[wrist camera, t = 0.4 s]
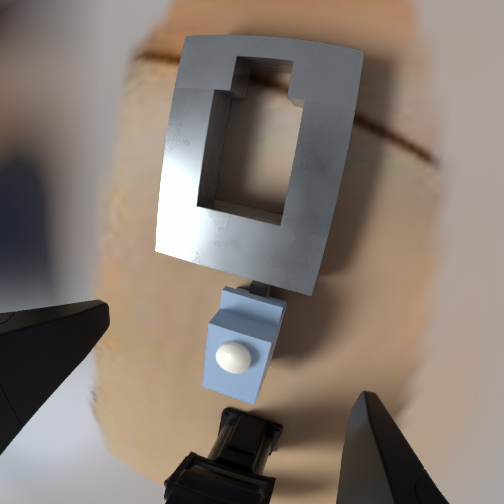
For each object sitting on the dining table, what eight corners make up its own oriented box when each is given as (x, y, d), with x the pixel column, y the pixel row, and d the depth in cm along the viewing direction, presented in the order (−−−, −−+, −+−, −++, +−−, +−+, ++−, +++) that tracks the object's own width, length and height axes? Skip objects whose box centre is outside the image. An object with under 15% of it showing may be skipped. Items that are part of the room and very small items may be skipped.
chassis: (315, 277, 21) (311, 296, 18) (176, 239, 23) (155, 251, 20) (360, 66, 15) (364, 51, 12) (205, 48, 17) (185, 35, 15)
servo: (267, 371, 25) (248, 421, 19) (225, 358, 25) (198, 403, 20) (292, 282, 21) (274, 326, 16) (240, 267, 22) (207, 305, 17)
